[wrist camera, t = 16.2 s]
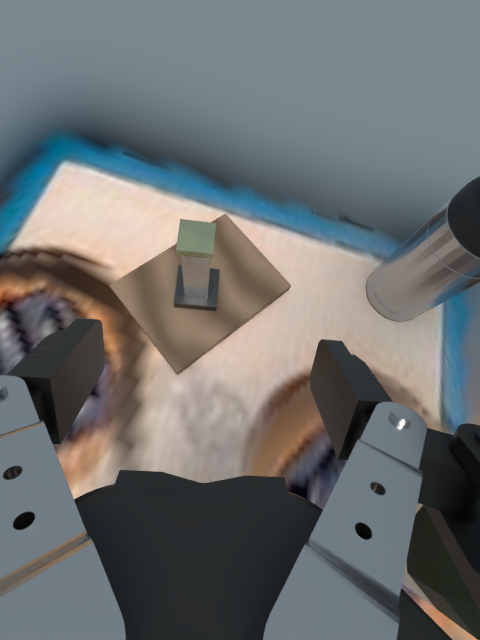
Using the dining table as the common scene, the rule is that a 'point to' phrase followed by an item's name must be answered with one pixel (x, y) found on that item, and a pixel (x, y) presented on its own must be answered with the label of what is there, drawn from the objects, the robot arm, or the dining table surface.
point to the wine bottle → (438, 575)
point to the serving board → (191, 324)
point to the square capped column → (196, 267)
